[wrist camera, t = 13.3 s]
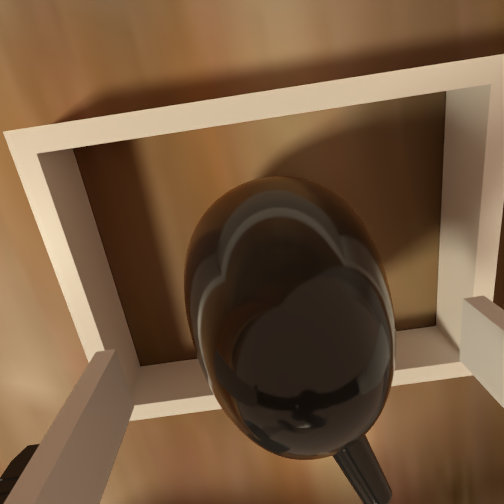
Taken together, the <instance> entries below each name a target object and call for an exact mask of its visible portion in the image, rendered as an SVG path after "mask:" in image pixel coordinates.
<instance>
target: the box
mask: <svg viewBox="0 0 504 504" xmlns="http://www.w3.org/2000/svg"><path fill="white" fill-rule="evenodd" d="M441 91H446V112H445V135H444V157H443V179H442V202H441V224H440V247H439V269H438V292H437V314H436V326H432V327H425V328H417V329H410V330H403V331H396V362H395V370H394V376H393V381H392V385H391V386H396V385H403V384H411V383H418V382H426V381H433V380H441V379H448V378H456V377H463V376H471V375H473V374H472V373H471V372H470V371H469V370H468V369H467V368H466V367H465V365H464V364H463V363H462V362H461V361H460V360H459V356H460V340H461V324H462V309H463V298H470V297H477V296H485V297H487V298H488V299H489V300H491V301H492V302H493V296H494V287H495V278H496V268H497V259H498V250H499V240H500V231H501V222H502V212H503V203H504V54H500V55H493V56H487V57H480V58H474V59H467V60H461V61H455V62H448V63H442V64H435V65H429V66H422V67H416V68H410V69H403V70H397V71H390V72H384V73H377V74H371V75H365V76H358V77H352V78H345V79H339V80H333V81H326V82H320V83H313V84H307V85H300V86H294V87H288V88H281V89H275V90H268V91H262V92H255V93H249V94H243V95H236V96H230V97H223V98H217V99H211V100H204V101H198V102H191V103H185V104H178V105H172V106H166V107H159V108H153V109H146V110H140V111H133V112H127V113H121V114H114V115H108V116H101V117H95V118H88V119H82V120H76V121H69V122H63V123H56V124H50V125H44V126H37V127H31V128H24V129H18V130H11V131H5V132H3V133H4V136H5V139H6V141H7V144H8V147H9V149H10V152H11V155H12V157H13V160H14V163H15V165H16V168H17V171H18V173H19V176H20V179H21V182H22V184H23V187H24V190H25V192H26V195H27V198H28V200H29V203H30V206H31V208H32V211H33V214H34V217H35V219H36V222H37V225H38V227H39V230H40V233H41V235H42V238H43V241H44V243H45V246H46V249H47V252H48V254H49V257H50V260H51V262H52V265H53V268H54V270H55V273H56V276H57V278H58V281H59V284H60V286H61V289H62V292H63V295H64V297H65V300H66V303H67V305H68V308H69V311H70V313H71V316H72V319H73V321H74V324H75V327H76V330H77V332H78V335H79V338H80V340H81V343H82V346H83V348H84V351H85V354H86V356H87V359H88V362H90V361H91V359H92V357H93V356H94V354H95V353H96V352H98V351H105V350H112V349H116V351H117V354H118V357H119V360H120V363H121V366H122V369H123V372H124V376H125V379H126V382H127V385H128V388H129V391H130V394H131V397H132V400H133V403H134V409H133V412H132V414H131V417H130V420H129V421H133V420H141V419H148V418H156V417H163V416H171V415H178V414H186V413H193V412H201V411H208V410H216V409H222V408H221V406H220V405H219V403H218V402H217V400H216V398H215V397H214V395H213V393H212V391H211V389H210V387H209V385H208V383H207V381H206V379H205V377H204V374H203V372H202V369H201V367H200V364H199V361H198V359H191V360H184V361H177V362H170V363H162V364H155V365H148V366H140V363H139V360H138V357H137V354H136V351H135V347H134V344H133V341H132V338H131V335H130V331H129V328H128V325H127V322H126V318H125V315H124V312H123V309H122V306H121V302H120V299H119V296H118V293H117V290H116V286H115V283H114V280H113V277H112V273H111V270H110V267H109V264H108V261H107V257H106V254H105V251H104V248H103V244H102V241H101V238H100V235H99V232H98V228H97V225H96V222H95V219H94V216H93V212H92V209H91V206H90V203H89V199H88V196H87V193H86V190H85V187H84V183H83V180H82V177H81V174H80V171H79V167H78V164H77V161H76V158H75V154H74V151H73V148H77V147H83V146H90V145H96V144H103V143H109V142H116V141H122V140H129V139H135V138H142V137H148V136H155V135H162V134H168V133H175V132H181V131H188V130H194V129H201V128H207V127H214V126H220V125H227V124H233V123H240V122H246V121H253V120H259V119H266V118H272V117H279V116H285V115H292V114H298V113H305V112H311V111H318V110H324V109H331V108H337V107H344V106H350V105H357V104H363V103H370V102H376V101H383V100H389V99H396V98H402V97H409V96H415V95H422V94H428V93H435V92H441Z"/></svg>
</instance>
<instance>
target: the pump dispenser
mask: <svg viewBox="0 0 504 504" xmlns="http://www.w3.org/2000/svg"><path fill="white" fill-rule="evenodd" d="M184 299H185V308H186V315H187V320H188V325H189V329H190V333H191V337H192V341H193V345H194V348H195V352H196V355H197V358H198V361H199V364H200V367H201V369H202V372H203V374H204V377H205V379H206V381H207V383H208V385H209V387H210V389H211V391H212V393H213V395H214V397H215V398H216V400H217V402H218V403H219V405H220V406H221V408H222V409H223V411H224V412H225V413H226V415H227V416H228V417H229V418H230V420H231V421H232V422H233V423H234V424H235V425H236V426H237V427H238V428H239V429H240V431H241V432H242V433H244V434H245V435H246V436H247V437H248V438H249V439H250V440H252V441H253V442H254V443H255V444H257V445H258V446H260V447H262V448H263V449H265V450H267V451H269V452H271V453H273V454H276V455H278V456H281V457H285V458H289V459H296V460H313V459H320V458H325V457H329V456H333V457H334V459H335V460H336V462H337V463H338V465H339V467H340V468H341V470H342V471H343V473H344V474H345V476H346V477H347V479H348V480H349V482H350V483H351V485H352V486H353V488H354V490H355V491H356V493H357V494H358V496H359V497H360V499H361V500H362V502H363V503H364V504H389V503H390V501H391V498H392V491H391V488H390V486H389V484H388V482H387V480H386V477H385V475H384V473H383V471H382V469H381V467H380V465H379V463H378V461H377V459H376V456H375V454H374V452H373V450H372V448H371V446H370V444H369V442H368V440H367V438H366V435H365V434H366V433H367V432H368V431H369V430H370V429H371V427H372V426H373V425H374V424H375V422H376V421H377V419H378V418H379V416H380V414H381V412H382V410H383V408H384V406H385V404H386V401H387V398H388V395H389V392H390V389H391V385H392V381H393V376H394V370H395V362H396V324H395V316H394V309H393V303H392V298H391V293H390V289H389V285H388V280H387V277H386V273H385V270H384V266H383V264H382V261H381V258H380V255H379V253H378V251H377V248H376V246H375V244H374V242H373V240H372V238H371V236H370V234H369V232H368V230H367V228H366V227H365V225H364V223H363V222H362V220H361V219H360V217H359V216H358V215H357V213H356V212H355V211H354V210H353V209H352V208H351V206H350V205H349V204H348V203H347V202H345V201H344V200H343V199H342V198H341V197H340V196H338V195H337V194H336V193H334V192H333V191H331V190H330V189H328V188H326V187H324V186H322V185H320V184H318V183H315V182H313V181H310V180H306V179H302V178H298V177H290V176H272V177H264V178H259V179H255V180H252V181H249V182H246V183H244V184H241V185H239V186H237V187H235V188H233V189H232V190H230V191H228V192H227V193H225V194H224V195H223V196H221V197H220V198H219V199H218V200H216V201H215V202H214V203H213V204H212V205H211V206H210V207H209V208H208V210H207V211H206V212H205V213H204V215H203V216H202V218H201V219H200V221H199V222H198V224H197V226H196V228H195V230H194V232H193V234H192V237H191V239H190V242H189V246H188V249H187V254H186V259H185V268H184Z"/></svg>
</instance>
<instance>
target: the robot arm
mask: <svg viewBox="0 0 504 504" xmlns="http://www.w3.org/2000/svg"><path fill="white" fill-rule="evenodd" d="M459 360H460V361H461V362H462V363H463V364H464V365H465V367H466V368H467V369H468V370H469V371H470V372H471V373H472V374H473V375H474V376H475V377H476V379H477V380H478V381H479V382H480V383H481V384H482V385H483V386H484V387H485V388H486V389H487V390H488V392H489V393H490V394H491V395H492V396H493V397H494V398H495V399H496V400H497V401H498V402H499V404H500V405H501V406H502V407H503V408H504V310H503V309H502V308H500V307H499V306H498V305H496V304H495V303H493V302H492V301H491V300H489V299H488V298H487V297H485V296H477V297H470V298H463V309H462V324H461V340H460V356H459ZM133 409H134V403H133V400H132V397H131V394H130V391H129V388H128V385H127V382H126V379H125V376H124V372H123V369H122V366H121V363H120V360H119V357H118V354H117V351H116V349H112V350H105V351H98V352H96V353H95V354H94V356H93V357H92V359H91V361H90V362H89V364H88V366H87V367H86V369H85V371H84V372H83V374H82V376H81V377H80V379H79V380H78V382H77V384H76V385H75V387H74V389H73V390H72V392H71V394H70V395H69V397H68V399H67V400H66V402H65V403H64V405H63V407H62V408H61V410H60V412H59V413H58V415H57V417H56V418H55V420H54V422H53V423H52V425H51V426H50V428H49V430H48V431H47V433H46V435H45V436H44V438H43V440H42V441H41V443H40V444H36V445H29V446H27V447H26V448H25V449H24V450H23V451H22V452H21V453H20V454H19V455H17V456H16V457H15V458H14V459H13V460H12V461H11V462H10V464H9V465H8V467H7V468H6V470H5V471H4V473H3V474H2V476H1V477H0V504H99V503H100V501H101V498H102V495H103V492H104V489H105V487H106V484H107V481H108V478H109V476H110V473H111V470H112V467H113V464H114V462H115V459H116V456H117V453H118V451H119V448H120V445H121V442H122V439H123V437H124V434H125V431H126V428H127V426H128V423H129V420H130V417H131V414H132V412H133Z"/></svg>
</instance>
